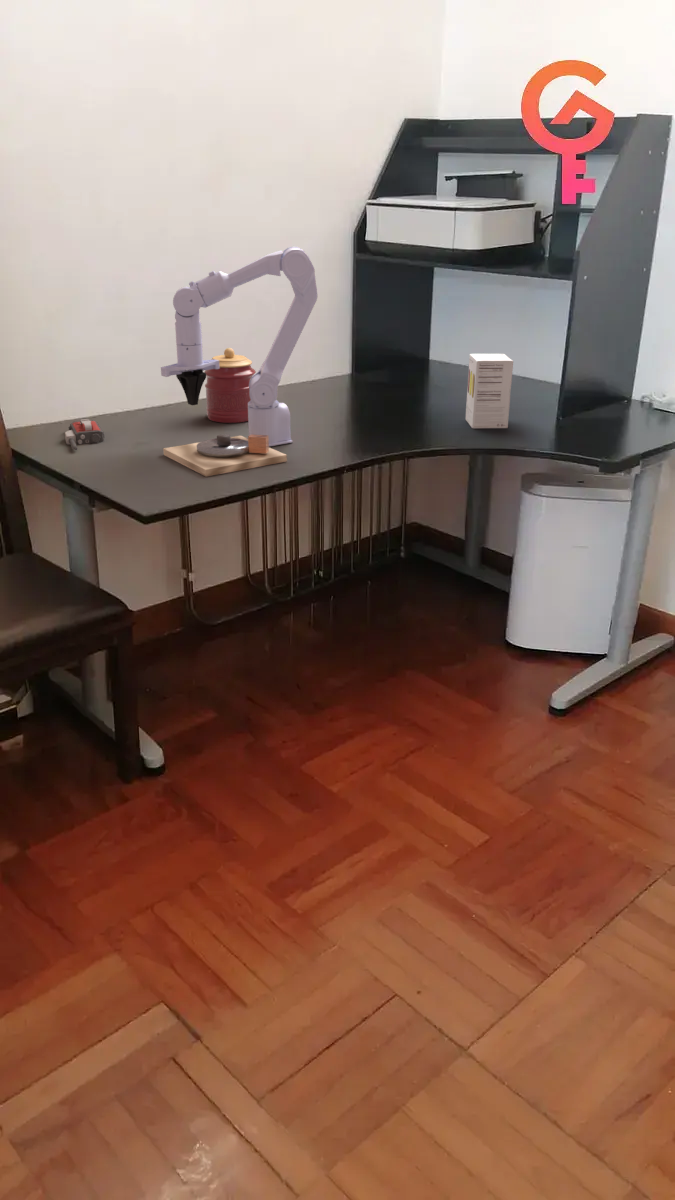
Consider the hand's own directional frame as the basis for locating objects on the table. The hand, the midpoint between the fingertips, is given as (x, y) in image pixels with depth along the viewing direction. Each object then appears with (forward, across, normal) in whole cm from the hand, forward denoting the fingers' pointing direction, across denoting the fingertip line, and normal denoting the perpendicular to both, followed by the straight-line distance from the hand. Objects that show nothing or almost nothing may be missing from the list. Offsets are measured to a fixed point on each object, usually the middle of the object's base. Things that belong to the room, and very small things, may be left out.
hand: (192, 404), depth 217 cm
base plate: (+9, +2, +14) cm, 17 cm away
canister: (+10, -22, -15) cm, 29 cm away
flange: (+7, +1, +16) cm, 17 cm away
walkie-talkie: (+10, +18, -20) cm, 28 cm away
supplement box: (+10, -67, +32) cm, 75 cm away
